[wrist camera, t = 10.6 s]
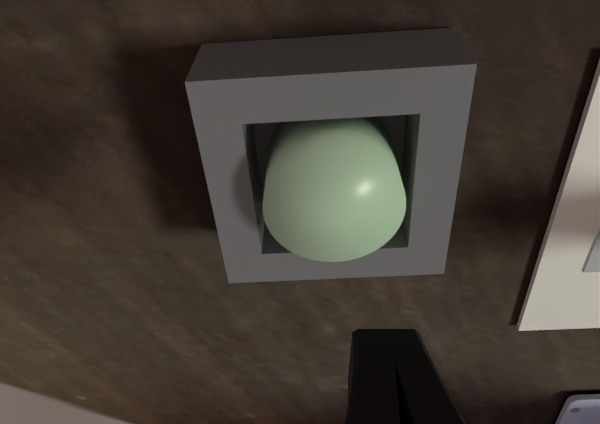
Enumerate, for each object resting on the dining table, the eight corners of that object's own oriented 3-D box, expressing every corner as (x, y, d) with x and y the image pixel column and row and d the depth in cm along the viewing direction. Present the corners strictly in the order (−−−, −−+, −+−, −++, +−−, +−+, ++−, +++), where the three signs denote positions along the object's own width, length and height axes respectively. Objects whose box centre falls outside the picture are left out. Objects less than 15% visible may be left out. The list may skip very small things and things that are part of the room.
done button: (389, 204, 19) (401, 259, 17) (274, 210, 19) (270, 264, 17) (395, 96, 16) (411, 144, 14) (261, 104, 16) (254, 152, 14)
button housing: (427, 222, 21) (443, 273, 18) (237, 231, 21) (228, 283, 19) (451, 27, 16) (476, 63, 14) (201, 44, 16) (184, 82, 14)
